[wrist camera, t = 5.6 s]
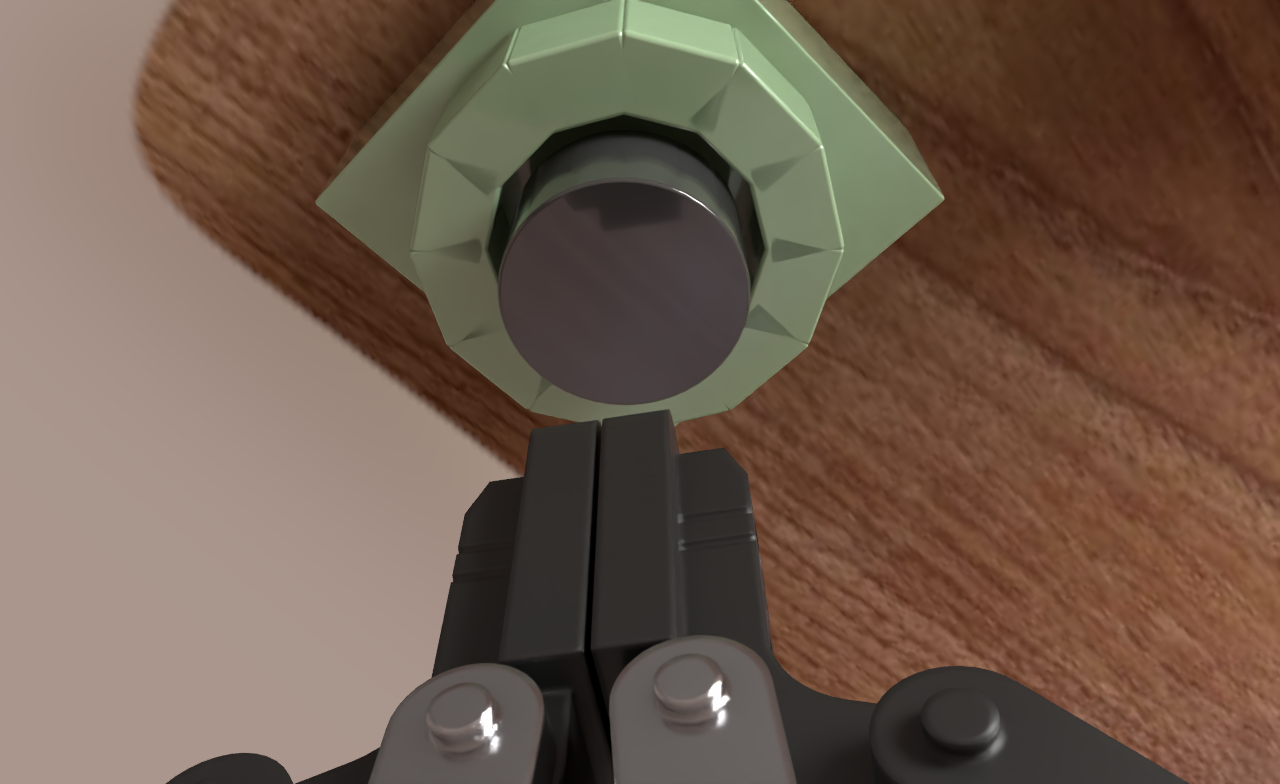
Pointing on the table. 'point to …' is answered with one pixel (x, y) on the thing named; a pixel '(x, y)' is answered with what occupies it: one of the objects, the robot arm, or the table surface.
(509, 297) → the dark grey button cap
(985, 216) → the table surface
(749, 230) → the light green square block
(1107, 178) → the table surface
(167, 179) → the table surface
